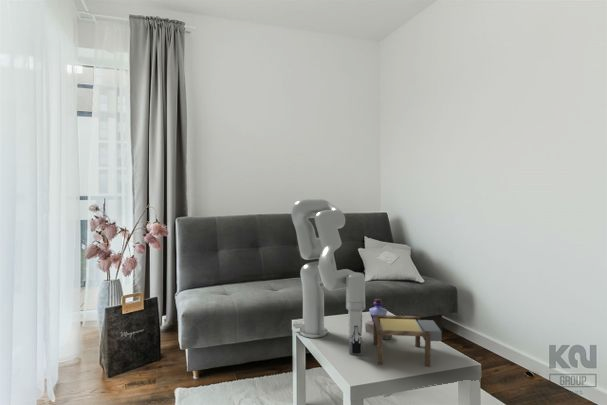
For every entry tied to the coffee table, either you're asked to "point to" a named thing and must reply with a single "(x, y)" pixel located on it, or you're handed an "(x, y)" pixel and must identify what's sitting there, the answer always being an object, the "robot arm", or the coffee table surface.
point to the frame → (379, 332)
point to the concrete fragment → (370, 329)
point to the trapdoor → (413, 326)
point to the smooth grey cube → (351, 345)
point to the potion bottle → (377, 309)
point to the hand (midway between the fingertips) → (355, 348)
